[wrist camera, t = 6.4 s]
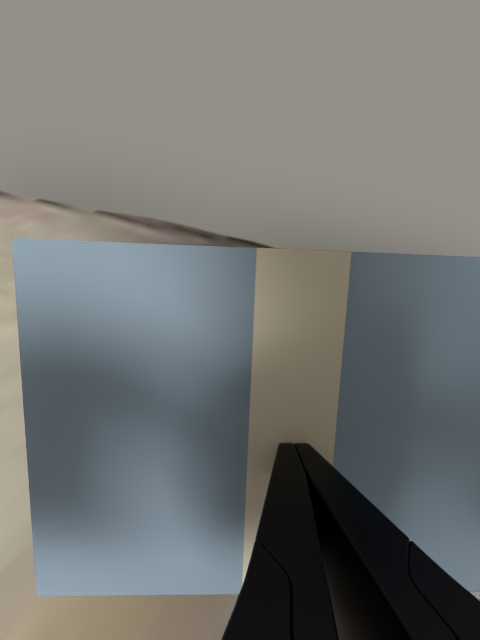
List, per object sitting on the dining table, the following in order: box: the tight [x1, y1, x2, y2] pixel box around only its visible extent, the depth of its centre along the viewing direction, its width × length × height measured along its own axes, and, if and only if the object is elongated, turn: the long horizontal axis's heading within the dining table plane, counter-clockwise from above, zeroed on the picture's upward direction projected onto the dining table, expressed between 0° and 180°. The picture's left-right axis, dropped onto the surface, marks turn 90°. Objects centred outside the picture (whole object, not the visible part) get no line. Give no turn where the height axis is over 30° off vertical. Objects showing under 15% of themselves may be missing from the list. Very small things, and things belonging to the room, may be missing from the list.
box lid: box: [12, 238, 480, 596], centre depth 9 cm, size 10×14×1 cm
